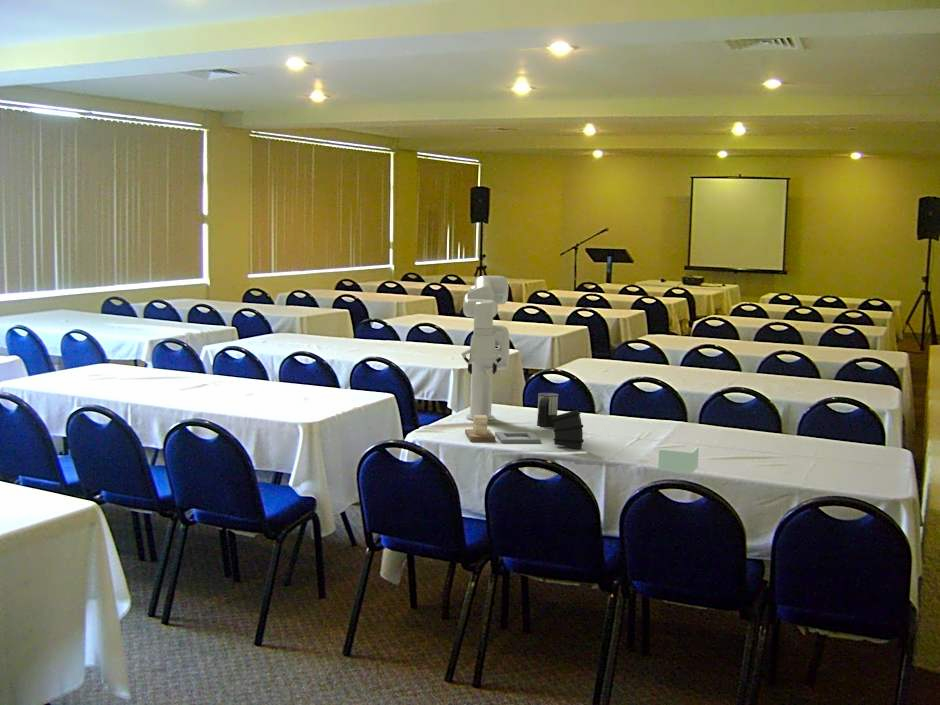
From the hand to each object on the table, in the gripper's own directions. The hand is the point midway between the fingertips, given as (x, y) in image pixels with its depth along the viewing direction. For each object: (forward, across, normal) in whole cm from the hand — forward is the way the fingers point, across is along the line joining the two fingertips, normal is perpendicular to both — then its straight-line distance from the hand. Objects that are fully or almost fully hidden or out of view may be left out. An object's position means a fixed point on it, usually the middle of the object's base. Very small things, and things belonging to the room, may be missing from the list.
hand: (482, 373), depth 415 cm
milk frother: (+27, -35, -16) cm, 47 cm away
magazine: (+26, -33, +25) cm, 50 cm away
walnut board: (+26, +1, +4) cm, 26 cm away
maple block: (+24, +1, +4) cm, 24 cm away
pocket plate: (+26, -14, +7) cm, 30 cm away
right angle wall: (+25, -64, +59) cm, 91 cm away
